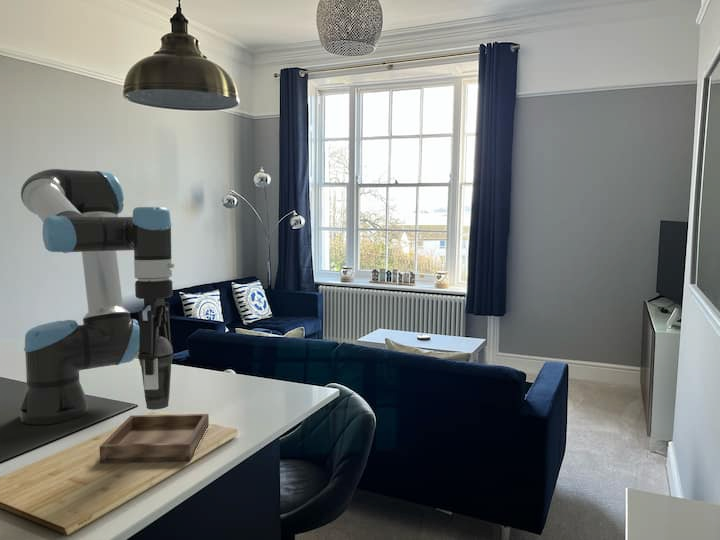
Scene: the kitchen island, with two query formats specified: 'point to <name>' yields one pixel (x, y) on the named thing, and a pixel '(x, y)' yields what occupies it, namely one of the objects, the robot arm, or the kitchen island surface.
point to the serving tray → (155, 438)
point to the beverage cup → (160, 376)
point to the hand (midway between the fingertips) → (157, 383)
